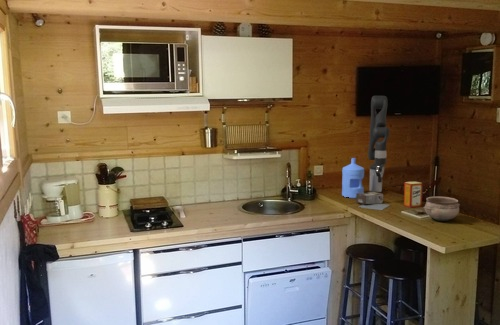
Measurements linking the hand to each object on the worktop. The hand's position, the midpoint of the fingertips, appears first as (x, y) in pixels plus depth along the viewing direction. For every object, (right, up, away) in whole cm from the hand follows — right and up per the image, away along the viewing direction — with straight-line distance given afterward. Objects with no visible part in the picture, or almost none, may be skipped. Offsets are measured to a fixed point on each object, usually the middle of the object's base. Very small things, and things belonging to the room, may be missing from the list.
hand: (379, 182), depth 317 cm
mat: (-5, -16, -6) cm, 18 cm away
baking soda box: (+20, -16, -6) cm, 26 cm away
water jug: (-13, -11, +26) cm, 31 cm away
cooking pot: (+25, -21, -40) cm, 52 cm away
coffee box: (+1, -11, +6) cm, 12 cm away
